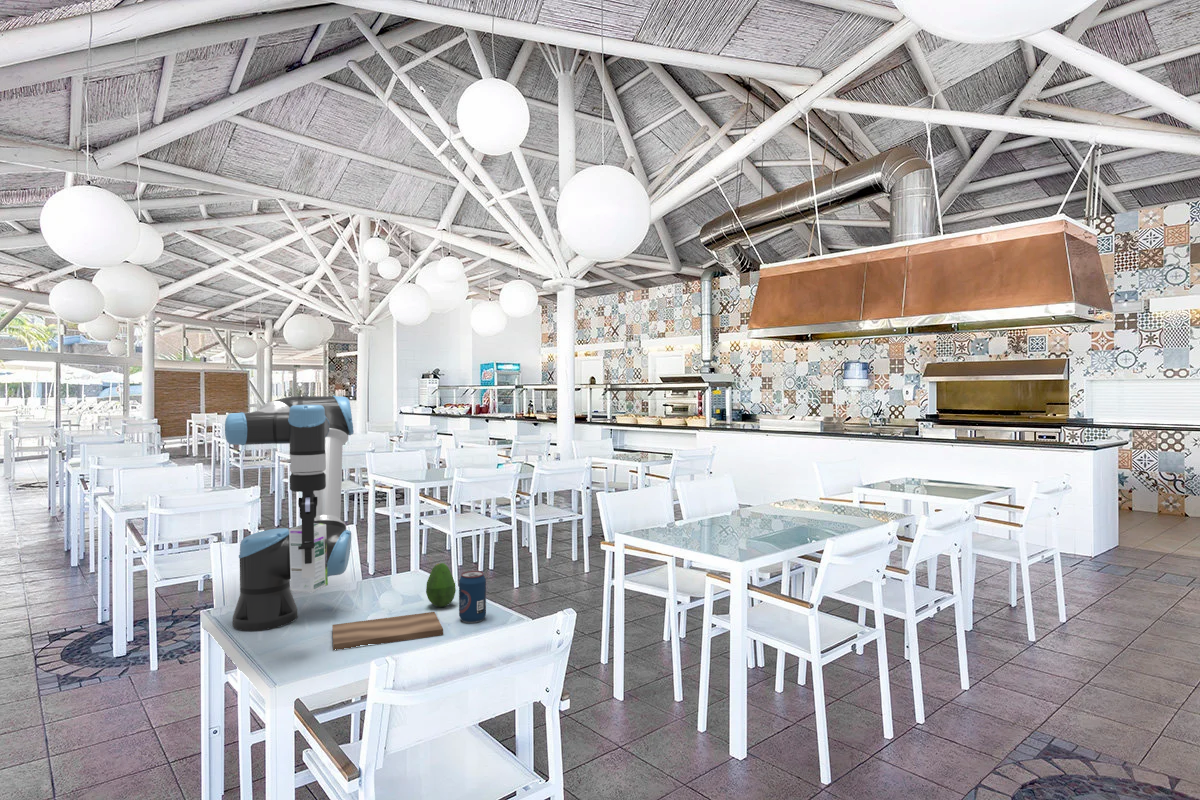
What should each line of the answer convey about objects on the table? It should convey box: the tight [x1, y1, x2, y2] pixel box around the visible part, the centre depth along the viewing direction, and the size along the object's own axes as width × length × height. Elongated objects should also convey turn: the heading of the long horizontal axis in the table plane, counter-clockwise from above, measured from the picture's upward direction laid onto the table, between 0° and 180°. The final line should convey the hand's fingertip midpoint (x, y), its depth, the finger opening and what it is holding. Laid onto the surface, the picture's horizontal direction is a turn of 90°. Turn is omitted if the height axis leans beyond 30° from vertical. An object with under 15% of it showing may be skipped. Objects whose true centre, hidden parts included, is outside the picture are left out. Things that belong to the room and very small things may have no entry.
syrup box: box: [288, 523, 329, 593], centre depth 151 cm, size 6×6×14 cm
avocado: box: [425, 562, 457, 608], centre depth 184 cm, size 8×8×12 cm
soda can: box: [458, 570, 487, 624], centre depth 174 cm, size 7×7×12 cm
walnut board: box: [331, 611, 444, 651], centre depth 164 cm, size 14×25×2 cm, turn 113°
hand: (308, 572), depth 152 cm, fingers closed on syrup box, 7 cm apart
